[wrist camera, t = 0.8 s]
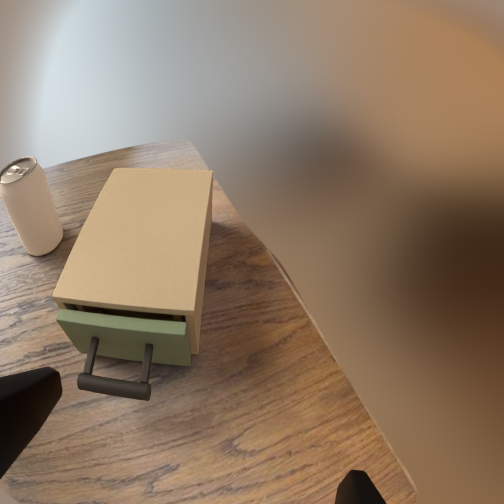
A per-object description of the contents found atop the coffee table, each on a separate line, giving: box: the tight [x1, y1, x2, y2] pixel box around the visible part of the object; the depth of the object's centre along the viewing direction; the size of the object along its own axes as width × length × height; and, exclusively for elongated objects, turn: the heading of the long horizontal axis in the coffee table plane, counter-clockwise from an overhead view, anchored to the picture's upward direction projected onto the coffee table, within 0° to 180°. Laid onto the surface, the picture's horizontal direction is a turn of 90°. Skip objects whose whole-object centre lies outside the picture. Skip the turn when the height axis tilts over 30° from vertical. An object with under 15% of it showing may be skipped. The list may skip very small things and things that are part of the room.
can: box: [0, 157, 63, 256], centre depth 33 cm, size 6×6×12 cm
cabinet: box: [52, 168, 213, 355], centre depth 33 cm, size 20×13×8 cm, turn 1°
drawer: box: [56, 304, 191, 401], centre depth 30 cm, size 23×11×6 cm, turn 1°
